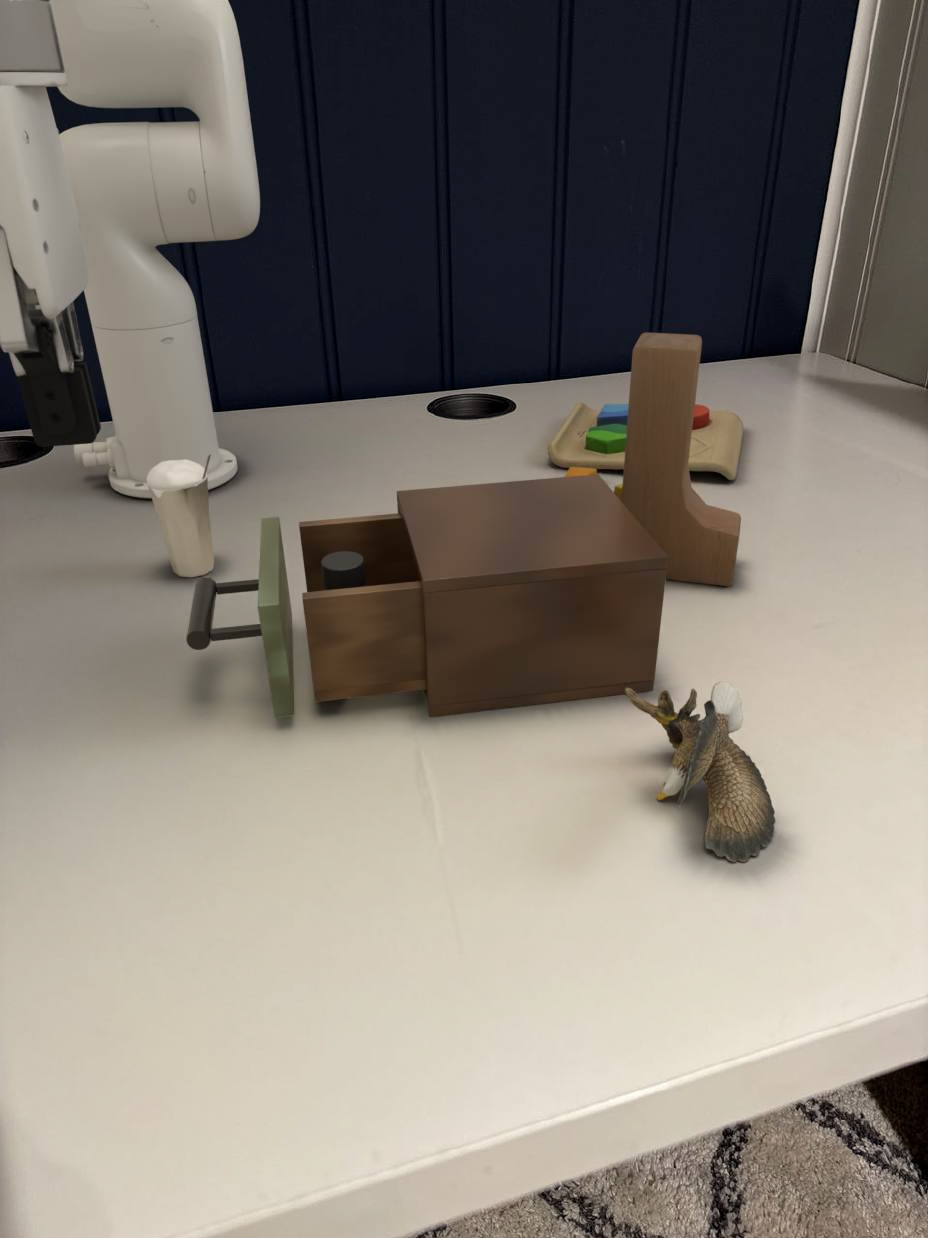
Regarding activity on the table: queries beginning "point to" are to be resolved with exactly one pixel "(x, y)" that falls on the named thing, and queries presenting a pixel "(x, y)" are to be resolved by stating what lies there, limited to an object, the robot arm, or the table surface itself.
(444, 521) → the cabinet
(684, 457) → the wooden block
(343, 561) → the glue stick
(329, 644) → the drawer
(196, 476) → the milkshake
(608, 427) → the shape puzzle
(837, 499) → the table surface
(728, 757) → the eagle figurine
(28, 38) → the robot arm
